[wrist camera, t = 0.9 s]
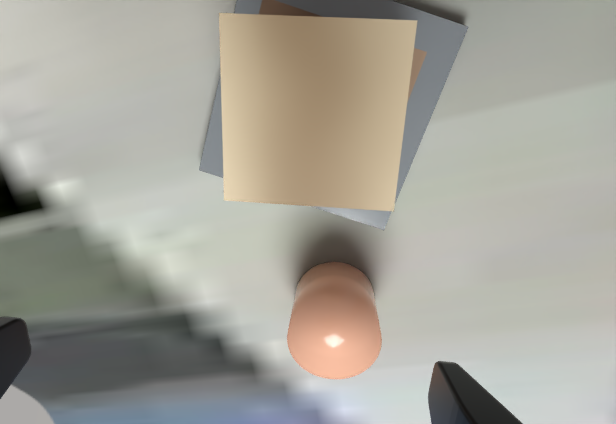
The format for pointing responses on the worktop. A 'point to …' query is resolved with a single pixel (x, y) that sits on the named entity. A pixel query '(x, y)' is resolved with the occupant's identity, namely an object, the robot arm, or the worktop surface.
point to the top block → (314, 108)
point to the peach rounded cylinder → (334, 322)
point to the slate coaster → (433, 74)
